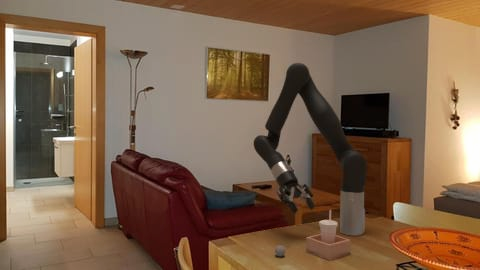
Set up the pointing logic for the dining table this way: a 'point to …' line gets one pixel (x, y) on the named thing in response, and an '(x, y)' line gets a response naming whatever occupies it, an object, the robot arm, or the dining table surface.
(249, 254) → the dining table surface
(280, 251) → the ball
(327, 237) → the smoothie
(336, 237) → the pink square tray
